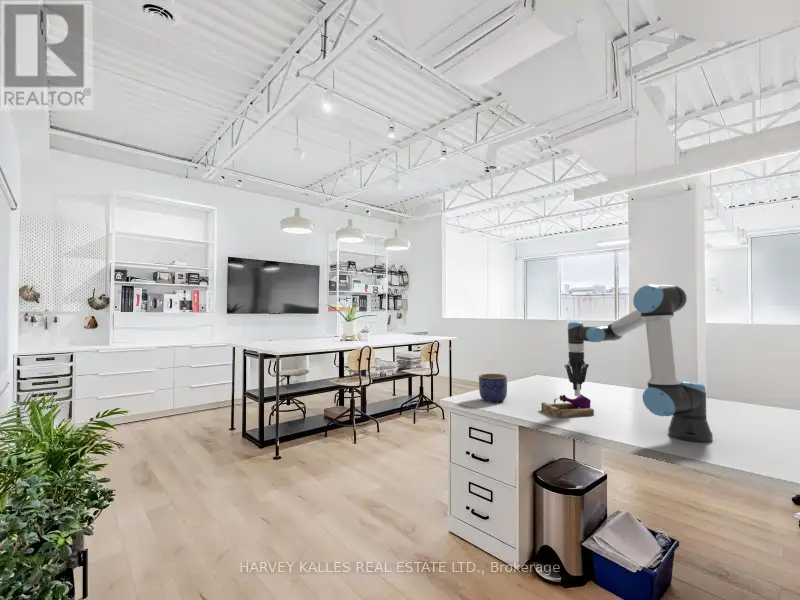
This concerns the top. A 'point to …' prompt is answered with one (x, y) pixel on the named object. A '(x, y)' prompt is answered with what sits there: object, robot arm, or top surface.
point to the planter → (493, 387)
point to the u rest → (566, 410)
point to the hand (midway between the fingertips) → (577, 395)
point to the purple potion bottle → (577, 401)
